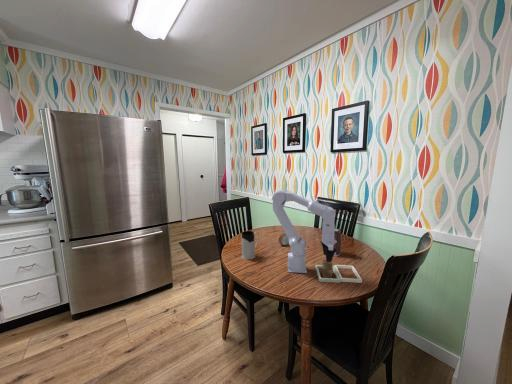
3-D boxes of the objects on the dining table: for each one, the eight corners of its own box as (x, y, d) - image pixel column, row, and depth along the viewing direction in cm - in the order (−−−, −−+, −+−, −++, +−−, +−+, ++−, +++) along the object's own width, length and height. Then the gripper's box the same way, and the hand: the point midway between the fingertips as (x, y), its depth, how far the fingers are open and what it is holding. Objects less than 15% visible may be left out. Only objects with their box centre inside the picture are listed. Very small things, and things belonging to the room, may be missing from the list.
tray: (340, 281, 99) (340, 278, 99) (334, 267, 112) (334, 264, 112) (362, 282, 98) (362, 279, 98) (352, 268, 111) (353, 265, 111)
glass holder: (238, 256, 128) (237, 233, 126) (254, 249, 138) (253, 227, 136) (248, 261, 122) (247, 236, 120) (264, 253, 132) (263, 230, 130)
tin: (295, 241, 152) (295, 230, 150) (298, 242, 149) (298, 231, 148) (278, 245, 144) (278, 233, 143) (281, 247, 141) (281, 235, 140)
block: (323, 276, 104) (324, 263, 103) (322, 272, 108) (322, 259, 107) (332, 277, 103) (332, 263, 102) (330, 272, 107) (330, 260, 106)
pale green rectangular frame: (319, 281, 100) (319, 278, 99) (315, 267, 113) (315, 264, 113) (340, 282, 98) (340, 279, 98) (333, 268, 112) (333, 265, 111)
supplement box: (340, 254, 128) (341, 229, 126) (336, 256, 125) (337, 231, 123) (328, 250, 135) (328, 226, 133) (323, 252, 132) (324, 228, 130)
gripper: (340, 237, 95) (339, 265, 97) (333, 227, 109) (332, 252, 111) (324, 237, 96) (323, 264, 98) (319, 227, 110) (318, 251, 112)
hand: (327, 258), depth 104 cm, fingers open, 7 cm apart
